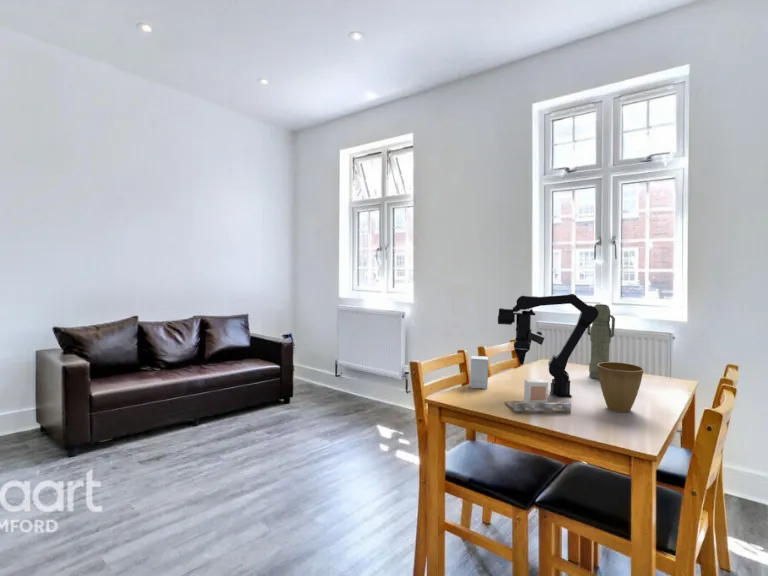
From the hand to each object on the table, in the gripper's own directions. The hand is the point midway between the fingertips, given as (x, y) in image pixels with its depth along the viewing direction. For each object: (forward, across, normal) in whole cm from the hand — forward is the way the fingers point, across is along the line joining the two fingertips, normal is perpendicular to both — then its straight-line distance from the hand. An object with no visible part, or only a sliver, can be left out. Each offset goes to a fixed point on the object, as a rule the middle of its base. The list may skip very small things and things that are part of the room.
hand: (522, 362), depth 187 cm
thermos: (+12, +41, -34) cm, 54 cm away
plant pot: (+12, -12, -35) cm, 39 cm away
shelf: (+12, -22, -6) cm, 26 cm away
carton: (+11, -21, -6) cm, 25 cm away
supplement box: (+12, +1, +18) cm, 22 cm away
